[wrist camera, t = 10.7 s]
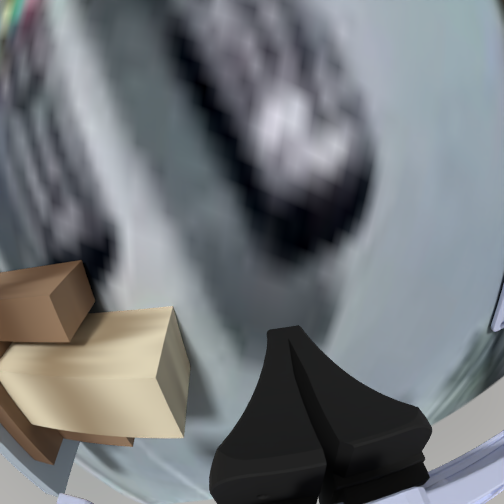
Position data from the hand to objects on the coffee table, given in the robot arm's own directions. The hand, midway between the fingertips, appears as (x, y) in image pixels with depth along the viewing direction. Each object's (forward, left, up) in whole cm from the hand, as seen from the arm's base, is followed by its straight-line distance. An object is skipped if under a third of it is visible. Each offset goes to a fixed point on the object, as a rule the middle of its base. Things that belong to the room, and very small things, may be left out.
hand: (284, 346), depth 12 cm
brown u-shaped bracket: (+11, 0, -1) cm, 11 cm away
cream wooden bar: (+9, 0, -2) cm, 9 cm away
